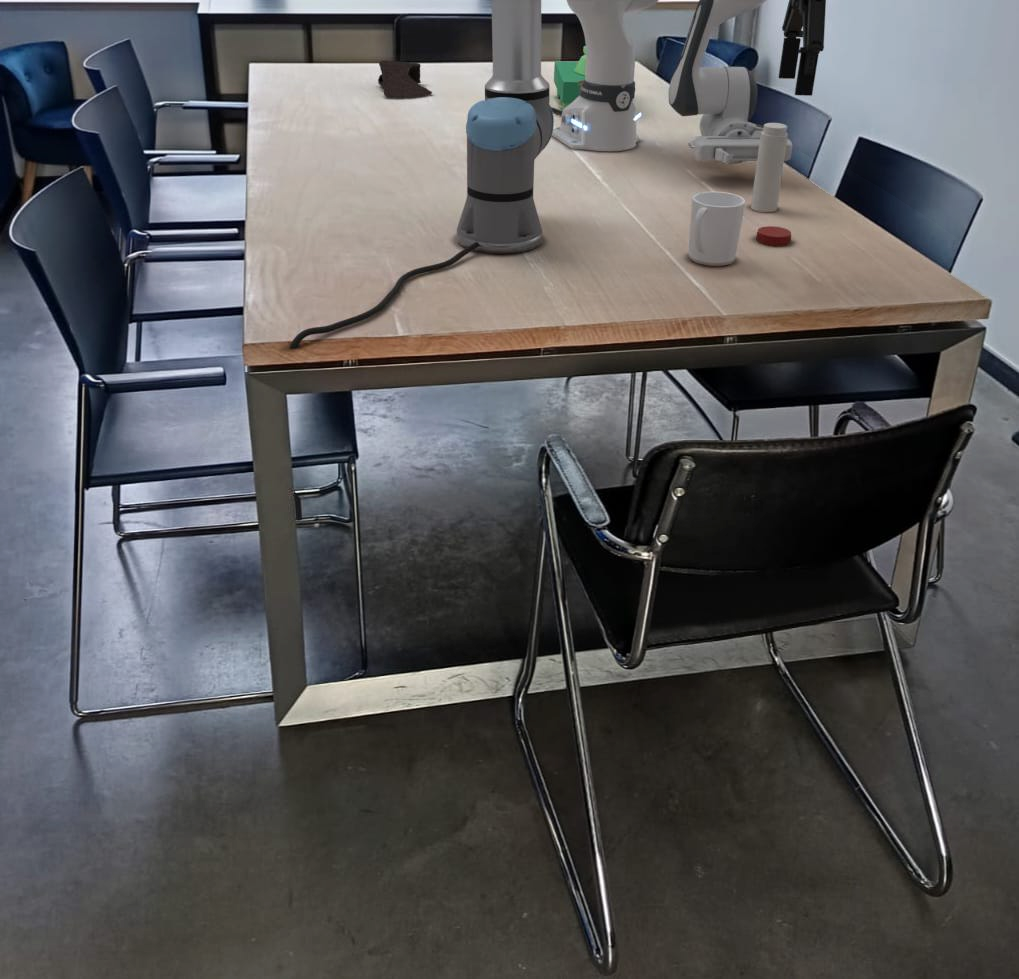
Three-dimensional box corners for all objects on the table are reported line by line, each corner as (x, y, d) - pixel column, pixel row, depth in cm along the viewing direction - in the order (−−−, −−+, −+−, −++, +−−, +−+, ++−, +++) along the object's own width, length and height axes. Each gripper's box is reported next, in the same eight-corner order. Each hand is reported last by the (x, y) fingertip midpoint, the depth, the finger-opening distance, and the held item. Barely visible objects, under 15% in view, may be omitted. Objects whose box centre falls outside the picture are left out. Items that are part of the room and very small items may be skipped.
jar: (774, 213, 213) (787, 129, 204) (748, 210, 214) (760, 126, 206) (778, 206, 217) (790, 123, 208) (753, 203, 218) (764, 121, 210)
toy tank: (616, 42, 301) (635, 67, 272) (613, 89, 308) (630, 118, 278) (553, 41, 300) (564, 66, 271) (550, 88, 307) (561, 117, 277)
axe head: (443, 87, 294) (392, 77, 287) (436, 115, 299) (385, 106, 292) (421, 62, 307) (371, 52, 300) (414, 89, 311) (365, 80, 304)
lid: (763, 232, 202) (764, 224, 202) (795, 239, 200) (796, 230, 199) (750, 241, 198) (751, 232, 197) (782, 248, 195) (784, 239, 194)
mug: (702, 245, 195) (709, 188, 190) (747, 257, 190) (755, 198, 185) (669, 261, 188) (675, 202, 182) (714, 274, 183) (722, 213, 177)
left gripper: (859, -45, 163) (834, 103, 174) (821, -60, 184) (801, 72, 195) (809, -46, 163) (787, 102, 174) (776, -62, 184) (759, 71, 196)
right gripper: (687, 126, 231) (703, 143, 219) (781, 126, 232) (802, 143, 221) (684, 156, 234) (700, 174, 222) (777, 156, 236) (797, 174, 224)
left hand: (794, 86), depth 185 cm, fingers open, 13 cm apart
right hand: (752, 159), depth 222 cm, fingers open, 8 cm apart
